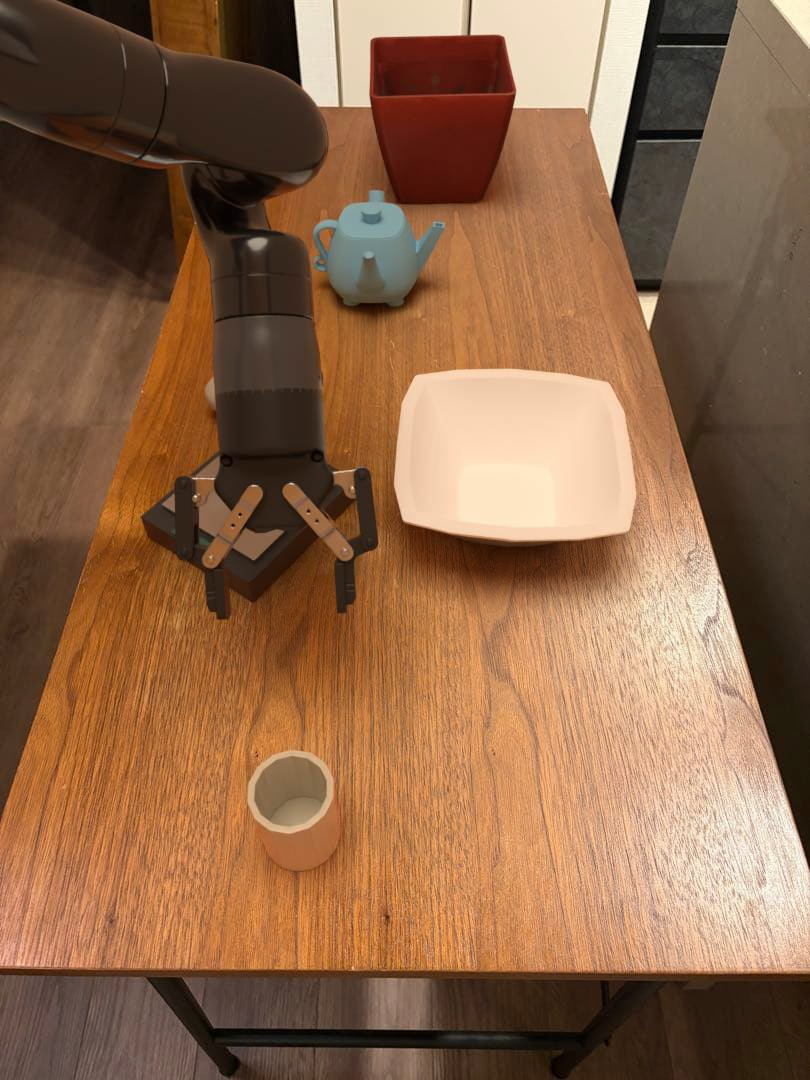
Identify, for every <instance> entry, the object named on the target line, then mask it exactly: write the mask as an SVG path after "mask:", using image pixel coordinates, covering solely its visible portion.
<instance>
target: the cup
mask: <svg viewBox="0 0 810 1080" xmlns="http://www.w3.org/2000/svg"><path fill="white" fill-rule="evenodd" d="M246 797H247V798H246V803H247V806H248V809H249V811H250V814H251V817H252V819H253V822H254V824H255V827H256V829H257V832H258V835H259V837H260V840H261V842H262V845H263V847H264V849H265V851H266V853H267V856H268V857H269V858H270V859H271V861H272V862H274V863H275V864H276V865H277V866H278V867H280V868H282V869H284V870H288V871H292V872H306V871H310V870H313V869H316V868H318V867H319V866H322V865H323V864H324V863H325V862H327V861H328V860H329V859H330V858H331V857H332V855H333V854H334V853H335V851H336V849H337V848H338V845H339V842H340V839H341V835H342V834H341V832H342V827H341V814H340V809H339V803H338V797H337V790H336V784H335V779H334V777H333V775H332V773H331V771H330V769H329V767H328V765H327V763H326V762H325V761H324V760H322V759H320V758H319V757H318V756H316V755H315V754H313V753H312V752H310V751H303V750H297V749H289V750H285V751H280V752H278V753H274V754H272V755H271V756H269V757H268V758H267V759H265V760H264V761H263V762H261V763H260V764H259V765H258V766H257V767H256V769H255V770H254V772H253V774H252V775H251V778H250V779H249V781H248V784H247V796H246Z"/></svg>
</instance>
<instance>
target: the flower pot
mask: <svg viewBox="0 0 810 1080" xmlns="http://www.w3.org/2000/svg"><path fill="white" fill-rule="evenodd" d="M369 42H370V43H369V89H368V91H369V92H368V95H369V96H368V97H369V104H370V109H371V115H372V120H373V125H374V130H375V134H376V135H375V136H376V138H377V144H378V147H379V151H380V155H381V158H382V162H383V166H384V169H385V172H386V175H387V178H388V180H389V185H390V187H391V190H392V192H393V195H394V197H395V199H396V201H397V202H398V203H400V204H421V203H422V204H424V203H427V204H428V203H465V202H466V203H467V202H481V201H482V200H483V199H484V197H485V196H486V194H487V191H488V190H489V187H490V185H491V182H492V180H493V176H494V175H495V171H496V169H497V167H498V164H499V160H500V157H501V155H502V151H503V149H504V145H505V142H506V139H507V135H508V131H509V127H510V124H511V118H512V115H513V111H514V110H513V109H514V105H515V101H516V96H517V87H516V83H515V80H514V76H513V71H512V67H511V62H510V57H509V52H508V48H507V43H506V38H505V37H504V36H503V35H500V34H461V35H457V34H456V35H416V36H415V35H412V36H410V35H409V36H376V37H373V38H371V39H370V41H369Z"/></svg>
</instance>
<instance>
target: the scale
mask: <svg viewBox="0 0 810 1080" xmlns="http://www.w3.org/2000/svg"><path fill="white" fill-rule="evenodd" d="M218 456H219V450H218V451H217V452H216V453H213V455H212V456H211V457H209V458H208V459H206V461H204V462H203V463H202V464H201V465H200V466H199V467H198V468H197V469H195V470H194V471H193V472H192V473H190V475H193V476H196V475H197V474H198V473H199V472H200V471H201V470H203V469H204V468H205V467H206V466H207V465H209V464H210V463H211V462H212V461H213V460H214V459H216V458H217V457H218ZM328 465H329V467H330V468H331V470H332V471H333V472H335V471H341V470H340V469H339V468H336V467H335V466H333V465H331V464H329V463H328ZM174 493H175V487H174V488H172V490H170V491H169V492H168V493H167V494H165V495H164V496H163V497H162V498H161V499H160V500H158V501H157V502H156V503H154V504H153V506H151V507H150V508H149V509H148V510H147V511H145V512H144V513H143V514H142V515H141V516H140V519H141V522H142V525H143V527H144V530H145V532H146V535H147V537H148V538H150V539H152V540H153V541H154V542H156V543H157V544H159V545H161V546H163V547H164V548H166V549H167V550H169V551H170V552H172V553H174V554H175V555H176V546H175V515H173V514H172V513H170V512H168V511H167V510H165V509H163V508H162V503H164V502H165V501H166V500H167V499H168V498H169V497H171V496H172V495H173V494H174ZM355 501H356V498H355V499H351V498H348V497H347V496H346V495H345V493H344V490H343V488H342V487H341V486H340V485H335V487H334V488H333V489H332V490H331V492H330V493H329V495H328V496H327V498H326V500H325V501H324V503H323V504H322V506H321V507H322V508H323V509H324V511H325V512H326V513H327V514H328V515H329V516H330V518H331V519H332V520H333V521H334V522H335V521H336V520H337V519H338V518H339V517H340V516H341V515H342V514H343V513H344V512H345V511H346V510H347V509H348V508H349V507H350V506H351V505H353V503H355ZM318 538H320V537H319V536H318V535H317V534H316V532H315V531H314V530H313V529H312V528H311V527H310V525H308V526H306V527H305V528H303V529H301V530H299V531H291V532H287V533H286V534H285V535H284V536H283V537H282V538H281V539H280V540H279V541H278V542H277V543H276V544H275V545H274V546H273V547H272V548H271V549H270V550H269V551H268V552H267V553H266V554H265V555H264V556H263V557H262V558H261V559H260V560H258V561H257V562H256V563H255V564H254V563H252V562H251V561H249V560H247V559H246V558H244V557H243V556H241V555H239V554H238V553H236V552H234V551H233V550H230V552H229V553H228V555H227V556H226V558H225V559H224V565H228V574H229V588H230V590H233V591H234V592H236V593H237V594H239V595H240V596H242V597H244V598H245V599H246V600H248V601H250V602H252V603H255V601H257V599H258V598H259V597H260V596H261V595H263V593H264V592H266V590H267V589H268V588H269V587H270V586H271V585H272V584H273V583H275V581H276V580H277V579H278V578H279V577H280V576H281V575H283V573H284V572H285V571H286V570H287V569H288V568H289V567H290V566H291V565H292V564H294V562H295V561H296V560H297V559H299V557H300V556H301V555H302V554H303V553H304V552H305V551H306V550H307V549H308V548H309V547H310V546H311V545H313V543H314V542H316V540H318ZM199 540H200V544H203V545H206V546H210V545H211V543H212V542H213V540H214V539H213V538H211V537H210V536H208V535H206V534H205V533H203V532H201V531H200V530H199ZM187 562H188V563H190V564H191V565H193V566H194V567H196V568H198V570H200V571H202V572H204V570H203V568H202V567H201V566H200V565H199V564H197V563H193V562H190V561H187Z"/></svg>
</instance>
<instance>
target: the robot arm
mask: <svg viewBox="0 0 810 1080" xmlns="http://www.w3.org/2000/svg"><path fill="white" fill-rule="evenodd" d="M0 120H2V121H5V122H6V123H9V124H11V125H14V126H16V127H18V128H21V129H22V130H25V131H28V132H30V133H33V134H35V135H37V136H40V137H43V138H45V139H48V140H50V141H53V142H56V143H59V144H62V145H64V146H68V147H72V148H74V149H77V150H81V151H84V152H88V153H91V154H94V155H98V156H100V157H104V158H107V159H110V160H114V161H117V162H120V163H123V164H126V165H130V166H134V167H138V168H143V169H151V170H163V169H164V170H165V169H170V168H174V167H179V169H180V174H181V179H182V184H183V187H184V191H185V193H186V197H187V200H188V203H189V206H190V210H191V213H192V217H193V220H194V222H195V223H194V224H195V227H196V229H197V233H198V235H199V239H200V241H201V244H202V247H203V250H204V252H205V255H206V258H207V261H208V264H209V271H210V272H209V273H210V274H209V275H210V276H209V277H210V278H209V279H210V295H211V309H212V310H211V311H212V322H213V338H212V339H213V340H212V341H213V342H212V354H211V355H212V356H211V357H212V372H213V374H212V375H213V376H214V390H215V403H216V411H215V413H216V415H215V417H216V429H217V443H218V444H217V445H218V451H219V458H220V466H219V470H218V473H217V475H216V477H215V478H199V477H195V476H193V475H191V474H186V475H180V476H178V477H176V478H175V480H174V488H175V546H176V554H175V556H176V557H177V559H178V560H180V561H183V562H188V561H190V562H193V563H197V564H199V565H200V566H201V567H202V568H203V570H204V571H203V573H204V585H205V599H206V606H207V609H208V611H209V613H216V614H215V615H216V619H217V621H223V620H224V621H226V620H229V619H230V617H231V615H232V606H231V605H232V603H231V588H229V574H228V565H224V559H225V558H226V556H227V555H228V553H229V552H230V550H231V549H232V547H233V546H234V544H235V543H236V541H237V540H238V539H239V538H240V536H241V535H242V533H243V532H244V530H245V529H248V530H250V531H252V532H255V533H267V532H270V531H273V530H276V529H277V530H282V531H287V532H291V531H299V530H301V529H303V528H305V527H306V526H308V525H310V527H311V528H312V529H313V530H314V531H315V532H316V534H317V535H318V536H319V537H318V538H319V539H320V540H322V541H323V542H324V543H325V544H326V545H327V546H328V548H329V549H330V550H331V551H332V552H333V554H334V555H335V557H336V559H334V562H333V568H334V569H333V570H334V584H335V600H336V601H335V603H336V604H335V605H336V614H337V615H338V614H347V613H348V606H352V605H354V604H355V601H356V598H357V588H356V571H355V561H356V559H357V558H358V557H360V556H361V555H363V554H366V553H368V552H372V551H375V550H376V549H377V548H378V546H379V536H378V535H379V533H378V527H377V517H376V509H375V508H376V507H375V502H374V492H373V491H374V490H373V484H372V475H371V471H370V469H369V468H368V467H366V466H359V467H357V468H354V469H353V468H352V469H346V470H345V469H344V470H340V471H335V472H333V471H332V470H331V468H330V467H329V465H330V464H329V462H328V458H327V444H326V443H327V442H326V430H325V429H326V427H325V411H324V410H325V409H324V398H323V397H324V396H323V394H324V393H323V384H324V373H323V371H322V360H321V352H320V344H319V340H318V335H317V329H316V322H315V308H314V307H315V306H314V305H315V304H314V291H313V270H312V263H311V256H310V252H309V250H308V246H307V245H306V244H305V242H304V241H303V239H301V238H300V237H298V236H297V235H295V234H294V233H290V232H288V231H285V230H284V231H283V230H279V229H272V227H271V224H270V221H269V219H268V218H269V217H268V214H267V208H266V207H267V206H266V201H268V200H271V199H275V198H277V197H280V196H283V195H286V194H289V193H291V192H295V191H297V190H299V189H302V188H303V187H305V186H306V185H308V184H310V183H311V182H312V181H313V180H315V179H316V177H317V176H318V175H319V174H320V172H321V170H322V169H323V168H324V165H325V163H326V161H327V157H328V153H329V145H330V141H329V132H328V127H327V123H326V120H325V118H324V116H323V113H322V111H321V109H320V108H319V105H317V103H316V102H315V100H313V98H312V97H311V96H310V94H309V93H308V92H307V91H306V90H305V89H304V88H302V86H301V85H299V84H298V83H296V82H295V81H294V80H292V79H291V78H289V77H288V76H286V75H284V74H282V73H280V72H277V71H276V70H274V69H273V70H272V69H269V68H267V67H264V66H260V65H256V64H252V63H247V62H243V61H237V60H232V59H228V58H222V57H216V56H212V55H208V54H199V53H192V52H183V51H178V50H173V49H169V48H166V47H164V46H162V45H161V44H159V43H157V42H154V41H152V40H150V39H149V38H145V37H144V36H142V35H140V34H136V33H134V32H132V31H130V30H128V29H125V28H123V27H121V26H119V25H116V24H114V23H112V22H110V21H108V20H107V21H106V20H105V19H103V18H101V17H98V16H95V15H94V14H93V15H92V14H91V13H89V12H86V11H84V10H81V9H79V8H77V7H73V6H71V5H69V4H66V3H64V2H61V1H59V0H0ZM328 464H329V465H328ZM334 485H340V486H341V487H342V488H343V490H344V493H345V495H346V496H347V497H348V498H351V499H355V498H356V500H355V501H356V509H357V517H358V525H359V535H356V536H354V537H352V538H350V539H349V538H348V537H347V536H346V535H345V534H344V532H343V531H342V530H341V528H340V527H339V526H338V525H337V524H336V522H335V521H333V520H332V519H331V518H330V516H329V515H328V514H327V513H326V512H325V511H324V509H323V508H322V507H321V506H322V504H323V503H324V501H325V500H326V498H327V496H328V495H329V493H330V492H331V490H332V489H333V487H334ZM212 491H215V492H216V494H217V495H218V496H219V497H220V499H221V500H222V501H223V502H224V503H225V505H226V506H227V507H228V508H229V509H230V511H231V514H230V515H229V517H228V518H227V520H226V521H225V523H224V524H223V526H222V527H221V529H220V530H219V532H218V533H217V536H216V537H215V539H214V540H213V542H212V543H211V545H210V546H206V545H203V544H200V540H199V507H200V506H203V505H205V504H206V503H207V501H208V496H209V494H210V493H211V492H212ZM190 562H189V563H190Z"/></svg>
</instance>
